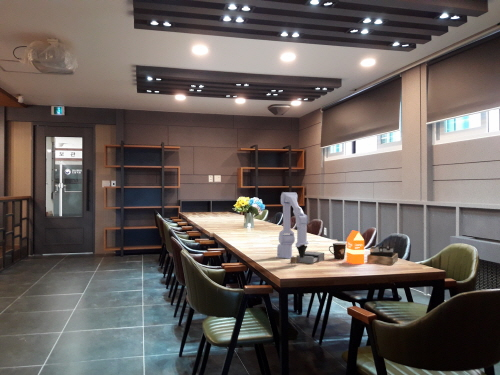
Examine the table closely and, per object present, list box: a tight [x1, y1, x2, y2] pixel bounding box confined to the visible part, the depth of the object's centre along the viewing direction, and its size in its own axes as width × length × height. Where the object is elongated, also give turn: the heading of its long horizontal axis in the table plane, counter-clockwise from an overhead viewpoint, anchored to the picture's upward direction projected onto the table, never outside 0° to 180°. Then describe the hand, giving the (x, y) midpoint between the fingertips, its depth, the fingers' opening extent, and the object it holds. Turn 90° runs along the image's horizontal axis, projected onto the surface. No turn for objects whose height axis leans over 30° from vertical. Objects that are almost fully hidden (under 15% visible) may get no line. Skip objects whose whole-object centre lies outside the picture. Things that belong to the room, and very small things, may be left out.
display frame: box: [366, 252, 399, 266], centre depth 244 cm, size 15×19×4 cm
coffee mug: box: [328, 242, 347, 261], centre depth 252 cm, size 12×9×10 cm
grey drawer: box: [296, 254, 318, 264], centre depth 239 cm, size 11×10×4 cm
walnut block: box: [289, 256, 298, 264], centre depth 235 cm, size 3×3×4 cm
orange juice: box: [346, 229, 365, 265], centre depth 239 cm, size 8×9×20 cm
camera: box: [369, 245, 394, 257], centre depth 244 cm, size 15×11×10 cm
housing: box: [304, 250, 325, 263], centre depth 247 cm, size 12×10×4 cm
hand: (301, 257), depth 231 cm, fingers closed
